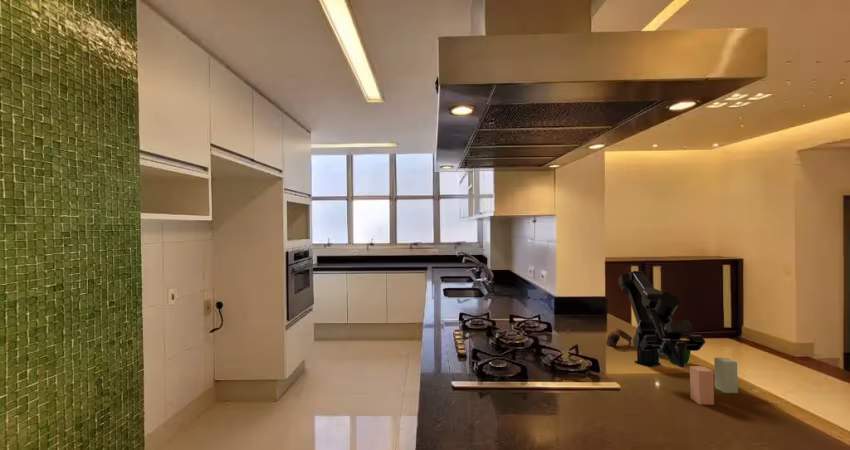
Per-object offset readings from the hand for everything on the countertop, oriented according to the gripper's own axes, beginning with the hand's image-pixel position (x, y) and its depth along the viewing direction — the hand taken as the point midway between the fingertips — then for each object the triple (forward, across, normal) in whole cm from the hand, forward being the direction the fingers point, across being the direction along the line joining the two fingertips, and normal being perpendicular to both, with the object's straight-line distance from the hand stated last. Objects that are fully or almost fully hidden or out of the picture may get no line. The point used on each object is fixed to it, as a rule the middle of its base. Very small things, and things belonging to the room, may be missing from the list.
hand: (682, 366), depth 134 cm
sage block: (+6, +12, +4) cm, 14 cm away
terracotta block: (+12, 0, -2) cm, 12 cm away
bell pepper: (-14, +13, +24) cm, 31 cm away
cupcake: (-22, +11, +32) cm, 41 cm away
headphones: (-30, 0, +41) cm, 51 cm away
